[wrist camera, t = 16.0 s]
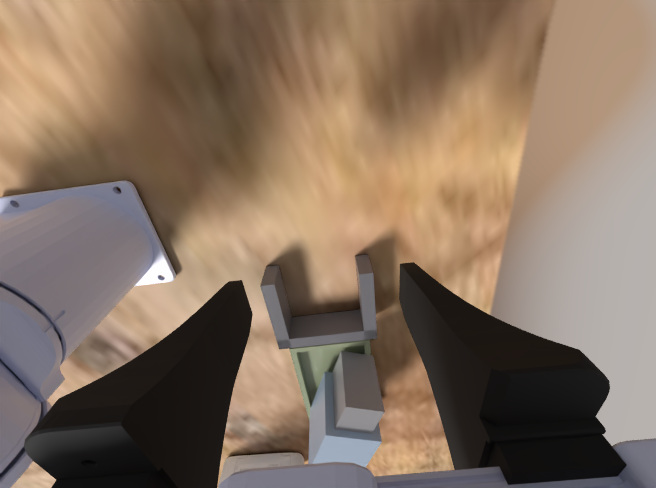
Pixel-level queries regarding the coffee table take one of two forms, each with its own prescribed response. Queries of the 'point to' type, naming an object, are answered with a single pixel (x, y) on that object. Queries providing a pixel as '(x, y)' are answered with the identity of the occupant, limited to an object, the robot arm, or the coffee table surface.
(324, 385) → the stepped two-tone block
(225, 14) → the coffee table surface
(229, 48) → the coffee table surface
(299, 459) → the photo printer
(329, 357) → the tray
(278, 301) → the bay
